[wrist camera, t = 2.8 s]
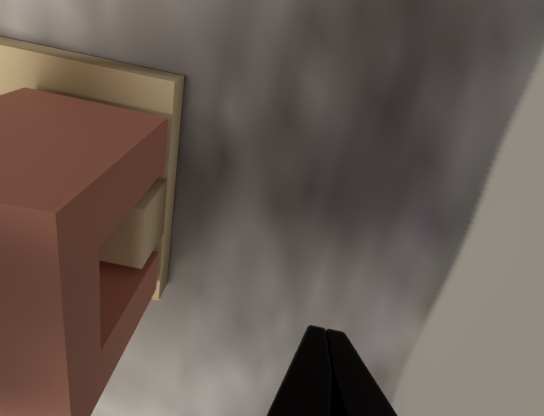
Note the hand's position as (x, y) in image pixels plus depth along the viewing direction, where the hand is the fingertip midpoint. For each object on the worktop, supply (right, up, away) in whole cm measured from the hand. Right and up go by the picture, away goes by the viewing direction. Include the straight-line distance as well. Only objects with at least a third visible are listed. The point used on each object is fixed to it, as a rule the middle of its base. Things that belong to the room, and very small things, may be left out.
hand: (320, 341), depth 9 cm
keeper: (-7, +3, +3) cm, 8 cm away
